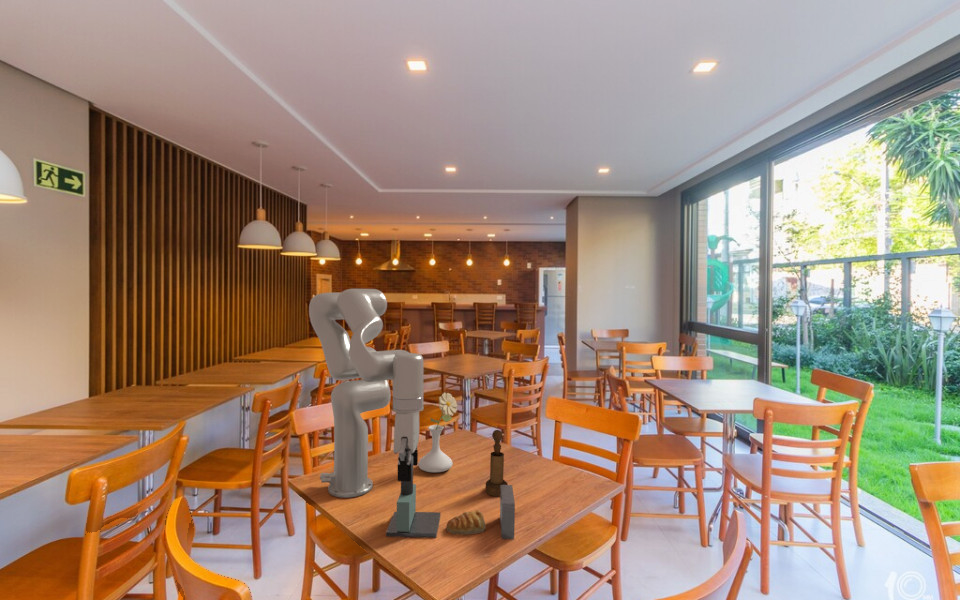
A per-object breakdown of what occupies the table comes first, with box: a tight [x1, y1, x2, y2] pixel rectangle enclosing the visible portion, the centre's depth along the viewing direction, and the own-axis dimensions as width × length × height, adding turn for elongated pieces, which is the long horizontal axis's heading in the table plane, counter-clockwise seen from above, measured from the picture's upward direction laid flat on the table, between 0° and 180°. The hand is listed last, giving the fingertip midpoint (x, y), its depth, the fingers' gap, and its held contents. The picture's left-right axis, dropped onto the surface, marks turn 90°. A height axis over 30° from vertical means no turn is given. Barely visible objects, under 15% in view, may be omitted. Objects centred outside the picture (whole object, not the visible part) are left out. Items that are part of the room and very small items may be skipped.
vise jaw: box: [396, 455, 417, 532], centre depth 109 cm, size 3×10×16 cm, turn 0°
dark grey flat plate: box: [385, 511, 441, 539], centre depth 109 cm, size 12×10×1 cm
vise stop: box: [499, 484, 516, 540], centre depth 109 cm, size 3×10×8 cm, turn 179°
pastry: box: [446, 509, 487, 536], centre depth 108 cm, size 9×7×4 cm
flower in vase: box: [417, 392, 458, 474], centre depth 145 cm, size 13×11×25 cm
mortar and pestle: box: [484, 429, 509, 497], centre depth 129 cm, size 7×6×18 cm
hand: (408, 472), depth 108 cm, fingers open, 9 cm apart
